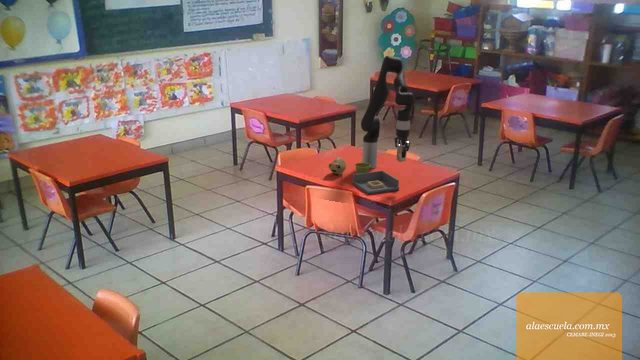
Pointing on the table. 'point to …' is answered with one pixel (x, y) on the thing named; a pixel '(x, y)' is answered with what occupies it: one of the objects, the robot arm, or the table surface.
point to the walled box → (375, 182)
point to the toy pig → (337, 166)
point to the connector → (400, 154)
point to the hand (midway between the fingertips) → (401, 156)
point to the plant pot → (362, 167)
